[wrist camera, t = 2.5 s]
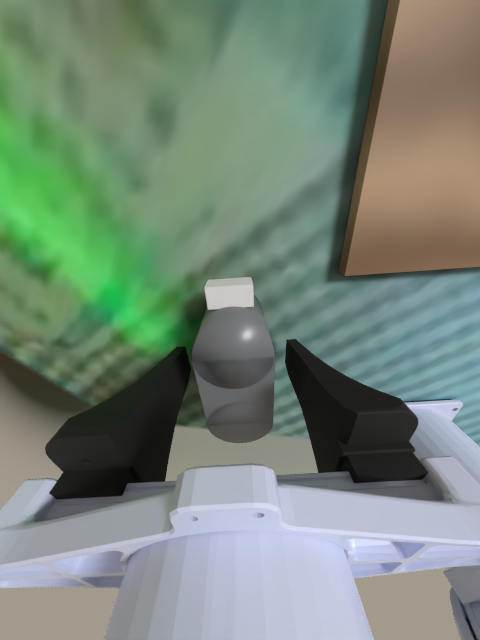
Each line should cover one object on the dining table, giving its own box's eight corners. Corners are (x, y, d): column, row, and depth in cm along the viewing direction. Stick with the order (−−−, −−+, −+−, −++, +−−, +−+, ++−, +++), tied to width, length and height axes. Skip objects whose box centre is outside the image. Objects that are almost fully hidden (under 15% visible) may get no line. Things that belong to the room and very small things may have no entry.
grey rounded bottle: (262, 382, 16) (272, 441, 12) (218, 385, 17) (211, 444, 12) (261, 268, 12) (276, 295, 7) (199, 273, 12) (177, 302, 7)
